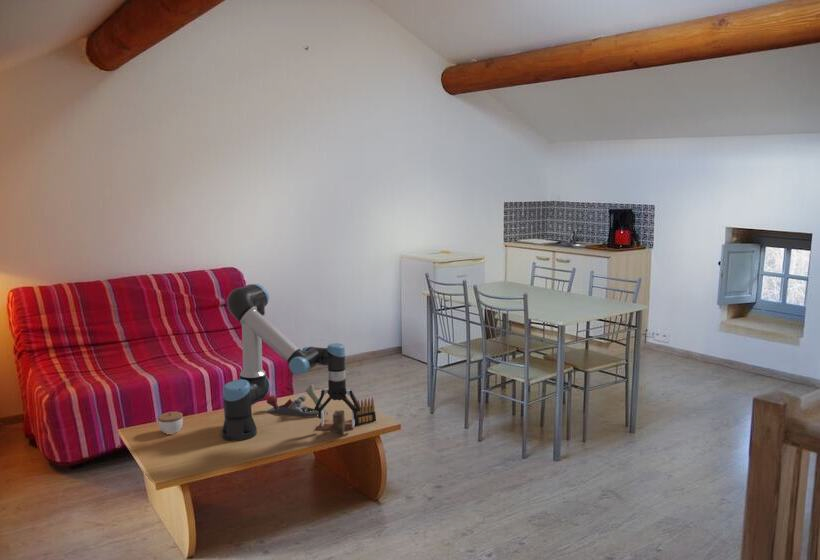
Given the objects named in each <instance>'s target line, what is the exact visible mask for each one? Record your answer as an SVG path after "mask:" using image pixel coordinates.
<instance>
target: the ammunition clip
mask: <svg viewBox="0 0 820 560" xmlns="http://www.w3.org/2000/svg"><path fill="white" fill-rule="evenodd" d="M357 401H358V403H359V405H360V407H361V409H360V411H357V418H356V419H355V425H354V427H356V426H362V425H366V423H367V424H371V423H374V421H376V422H377V417H376V411H375V410H376V408H375V406H376V405H375V399H374V396H371V399H370V397H368V398H364V399H363V398H361V400H360V399H358V400H357ZM353 405H354V404H353ZM354 406H355V405H354ZM370 422H371V423H370Z"/></svg>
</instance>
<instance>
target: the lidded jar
mask: <svg viewBox="0 0 820 560" xmlns="http://www.w3.org/2000/svg"><path fill="white" fill-rule="evenodd" d="M183 416H184V415H183V412H179V411H168V412H164V413H161V414H159V415H158V416H157V423H158V424H157V425H158V427H159V430H160V431H162V433H164V434H165V433H175V432H178V431H180V430H181V429H182V427H183V423H184V417H183ZM178 433H179V432H178Z"/></svg>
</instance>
